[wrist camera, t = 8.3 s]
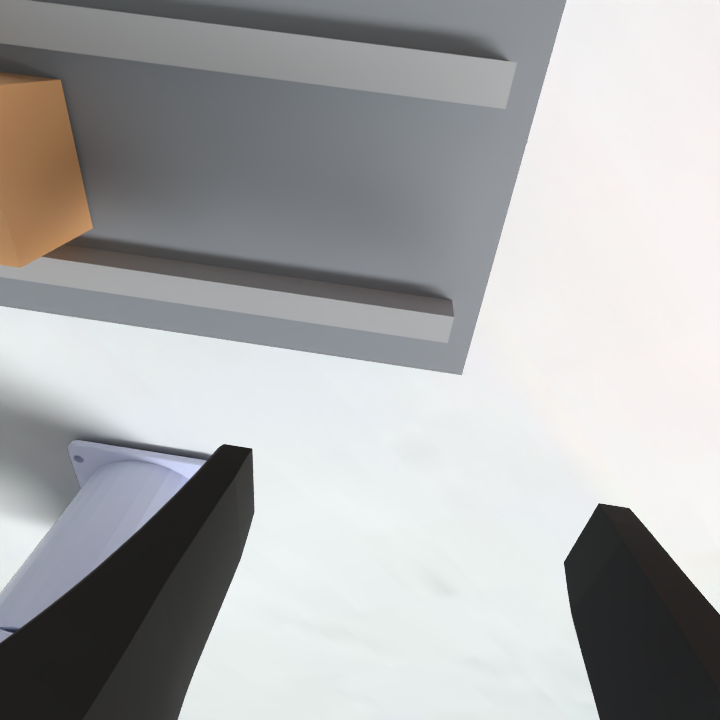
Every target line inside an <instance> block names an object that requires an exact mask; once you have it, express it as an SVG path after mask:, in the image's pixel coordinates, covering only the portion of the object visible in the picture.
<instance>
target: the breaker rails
mask: <svg viewBox="0 0 720 720" xmlns="http://www.w3.org/2000/svg"><path fill="white" fill-rule="evenodd" d="M565 3H566V0H0V72H7V73H15V74H22V75H30V76H37V77H45V78H52V79H60V80H61V83H62V88H63V92H64V97H65V102H66V106H67V111H68V116H69V120H70V125H71V129H72V134H73V139H74V143H75V148H76V152H77V157H78V162H79V166H80V171H81V175H82V180H83V185H84V189H85V194H86V198H87V203H88V208H89V212H90V217H91V221H92V226H93V228H92V229H91V230H89V231H87V232H85V233H83V234H82V235H80V236H78V237H76V238H74V239H72V240H71V241H69V242H67V243H65V244H63V245H62V246H60V247H58V248H56V249H54V250H52V251H51V252H49V253H47V254H45V255H43V256H41V257H40V258H38V259H36V260H34V261H32V262H31V263H29V264H27V265H25V266H23V267H21V268H18V267H11V266H4V265H0V306H5V307H12V308H18V309H25V310H32V311H38V312H45V313H52V314H58V315H65V316H72V317H78V318H85V319H92V320H98V321H105V322H112V323H118V324H125V325H132V326H138V327H145V328H152V329H158V330H165V331H172V332H178V333H185V334H192V335H198V336H205V337H212V338H218V339H225V340H232V341H238V342H245V343H252V344H258V345H265V346H272V347H278V348H285V349H292V350H298V351H305V352H312V353H318V354H325V355H332V356H338V357H345V358H352V359H358V360H365V361H372V362H378V363H385V364H392V365H398V366H405V367H412V368H418V369H425V370H432V371H438V372H445V373H452V374H458V375H462V372H463V368H464V365H465V361H466V358H467V354H468V350H469V347H470V343H471V340H472V336H473V333H474V329H475V325H476V322H477V318H478V315H479V311H480V307H481V304H482V300H483V297H484V293H485V290H486V286H487V282H488V279H489V275H490V272H491V268H492V264H493V261H494V257H495V254H496V250H497V247H498V243H499V239H500V236H501V232H502V229H503V225H504V222H505V218H506V214H507V211H508V207H509V204H510V200H511V196H512V193H513V189H514V186H515V182H516V179H517V175H518V171H519V168H520V164H521V161H522V157H523V154H524V150H525V146H526V143H527V139H528V136H529V132H530V128H531V125H532V121H533V118H534V114H535V111H536V107H537V103H538V100H539V96H540V93H541V89H542V85H543V82H544V78H545V75H546V71H547V68H548V64H549V60H550V57H551V53H552V50H553V46H554V43H555V39H556V35H557V32H558V28H559V25H560V21H561V17H562V14H563V10H564V7H565Z"/></svg>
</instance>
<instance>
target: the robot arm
mask: <svg viewBox="0 0 720 720" xmlns="http://www.w3.org/2000/svg"><path fill="white" fill-rule="evenodd" d="M67 450H68V453H69V456H70V459H71V462H72V465H73V468H74V471H75V474H76V477H77V480H78V483H79V485H80V488H81V490H80V491H79V492H78V494H77V495H76V496H75V497H74V499H73V500H72V501H71V503H70V504H69V505H68V506H67V508H66V509H65V510H64V512H63V513H62V514H61V516H60V517H59V518H58V519H57V521H56V522H55V523H54V525H53V526H52V527H51V528H50V530H49V531H48V532H47V534H46V535H45V536H44V537H43V539H42V540H41V541H40V543H39V544H38V545H37V547H36V548H35V549H34V550H33V552H32V553H31V554H30V556H29V557H28V558H27V559H26V561H25V562H24V563H23V565H22V566H21V567H20V569H19V570H18V571H17V572H16V574H15V575H14V576H13V578H12V579H11V580H10V581H9V583H8V584H7V585H6V587H5V588H4V589H3V590H2V592H1V593H0V720H178V717H179V713H180V710H181V707H182V704H183V701H184V698H185V695H186V692H187V689H188V687H189V684H190V681H191V679H192V676H193V673H194V671H195V668H196V666H197V663H198V661H199V658H200V656H201V654H202V651H203V649H204V646H205V644H206V642H207V639H208V637H209V634H210V632H211V630H212V627H213V625H214V622H215V620H216V618H217V615H218V613H219V610H220V608H221V605H222V603H223V601H224V598H225V596H226V593H227V591H228V589H229V586H230V584H231V581H232V579H233V576H234V574H235V571H236V569H237V566H238V564H239V562H240V559H241V556H242V553H243V549H244V546H245V543H246V539H247V536H248V532H249V529H250V525H251V522H252V518H253V515H254V485H253V455H252V449H251V448H245V447H238V446H232V445H226V444H223V445H222V446H220V447H219V448H218V449H217V450H216V451H215V452H214V453H213V455H212V456H211V457H210V458H209V459H208V460H201V459H195V458H188V457H182V456H176V455H170V454H163V453H157V452H151V451H144V450H138V449H132V448H126V447H119V446H113V445H107V444H100V443H94V442H88V441H82V440H74V441H72V442H71V443H70V444H69V445H68V447H67ZM564 566H565V574H566V582H567V589H568V596H569V602H570V608H571V614H572V618H573V622H574V626H575V630H576V633H577V637H578V641H579V645H580V648H581V652H582V656H583V660H584V663H585V667H586V670H587V674H588V678H589V681H590V685H591V689H592V692H593V696H594V700H595V703H596V707H597V710H598V714H599V718H600V720H720V614H719V613H718V612H717V611H716V610H715V609H714V608H713V606H712V605H711V604H710V603H709V602H708V601H707V599H706V598H705V597H704V596H703V595H702V594H701V592H700V591H699V590H698V589H697V588H696V587H695V585H694V584H693V583H692V582H691V581H690V580H689V578H688V577H687V576H686V575H685V574H684V572H683V571H682V570H681V569H680V568H679V566H678V565H677V564H676V563H675V562H674V560H673V559H672V558H671V557H670V556H669V554H668V553H667V552H666V551H665V550H664V548H663V547H662V546H661V545H660V544H659V542H658V541H657V540H656V539H655V538H654V536H653V535H652V534H651V533H650V532H649V531H648V529H647V528H646V527H645V526H644V525H643V523H642V522H641V521H640V520H639V519H638V518H637V516H636V515H635V514H634V513H633V512H632V511H631V510H630V509H629V508H625V507H619V506H612V505H606V504H600V503H599V504H598V506H597V508H596V509H595V511H594V513H593V514H592V516H591V518H590V519H589V521H588V523H587V524H586V526H585V528H584V529H583V531H582V533H581V534H580V536H579V538H578V539H577V541H576V543H575V545H574V546H573V548H572V550H571V551H570V553H569V555H568V556H567V558H566V560H565V561H564Z"/></svg>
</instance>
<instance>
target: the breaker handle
mask: <svg viewBox="0 0 720 720" xmlns="http://www.w3.org/2000/svg"><path fill="white" fill-rule="evenodd" d="M92 228H93V226H92V221H91V217H90V212H89V208H88V203H87V198H86V194H85V189H84V185H83V180H82V175H81V171H80V166H79V162H78V157H77V152H76V148H75V143H74V139H73V134H72V129H71V125H70V120H69V116H68V111H67V106H66V102H65V97H64V92H63V88H62V83H61V80H60V79H52V78H45V77H37V76H30V75H22V74H15V73H7V72H0V265H4V266H11V267H18V268H21V267H23V266H25V265H27V264H29V263H31V262H32V261H34V260H36V259H38V258H40V257H41V256H43V255H45V254H47V253H49V252H51V251H52V250H54V249H56V248H58V247H60V246H62V245H63V244H65V243H67V242H69V241H71V240H72V239H74V238H76V237H78V236H80V235H82V234H83V233H85V232H87V231H89V230H91V229H92Z"/></svg>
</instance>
